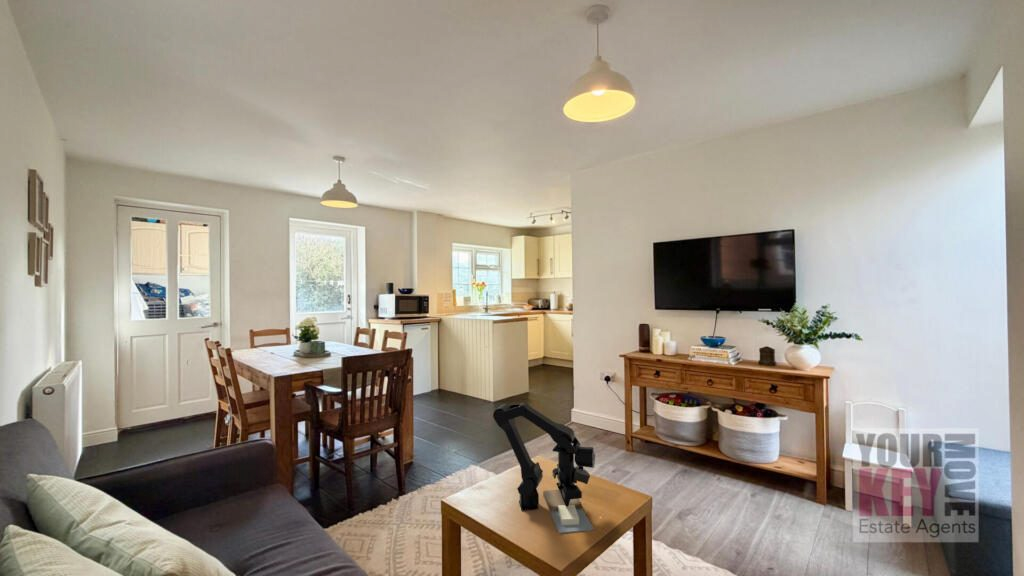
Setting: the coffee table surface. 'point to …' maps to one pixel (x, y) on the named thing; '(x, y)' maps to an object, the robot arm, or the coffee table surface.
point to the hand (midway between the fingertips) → (566, 505)
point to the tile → (568, 515)
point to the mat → (582, 526)
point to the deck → (558, 500)
